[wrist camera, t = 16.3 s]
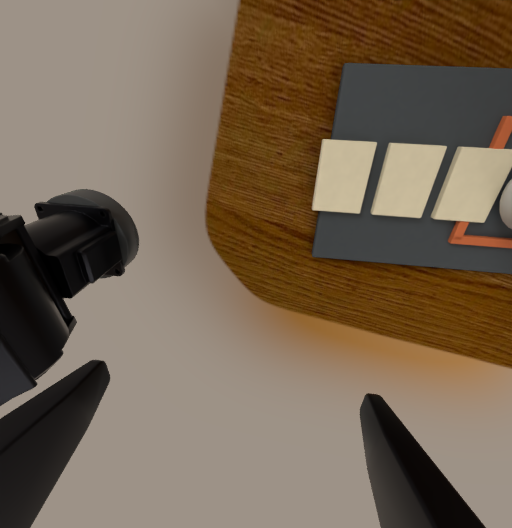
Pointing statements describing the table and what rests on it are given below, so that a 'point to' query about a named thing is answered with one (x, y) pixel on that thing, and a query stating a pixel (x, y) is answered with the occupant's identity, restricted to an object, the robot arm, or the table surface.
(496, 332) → the table surface
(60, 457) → the robot arm
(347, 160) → the word mat
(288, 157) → the table surface
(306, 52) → the table surface
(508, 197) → the beverage can
